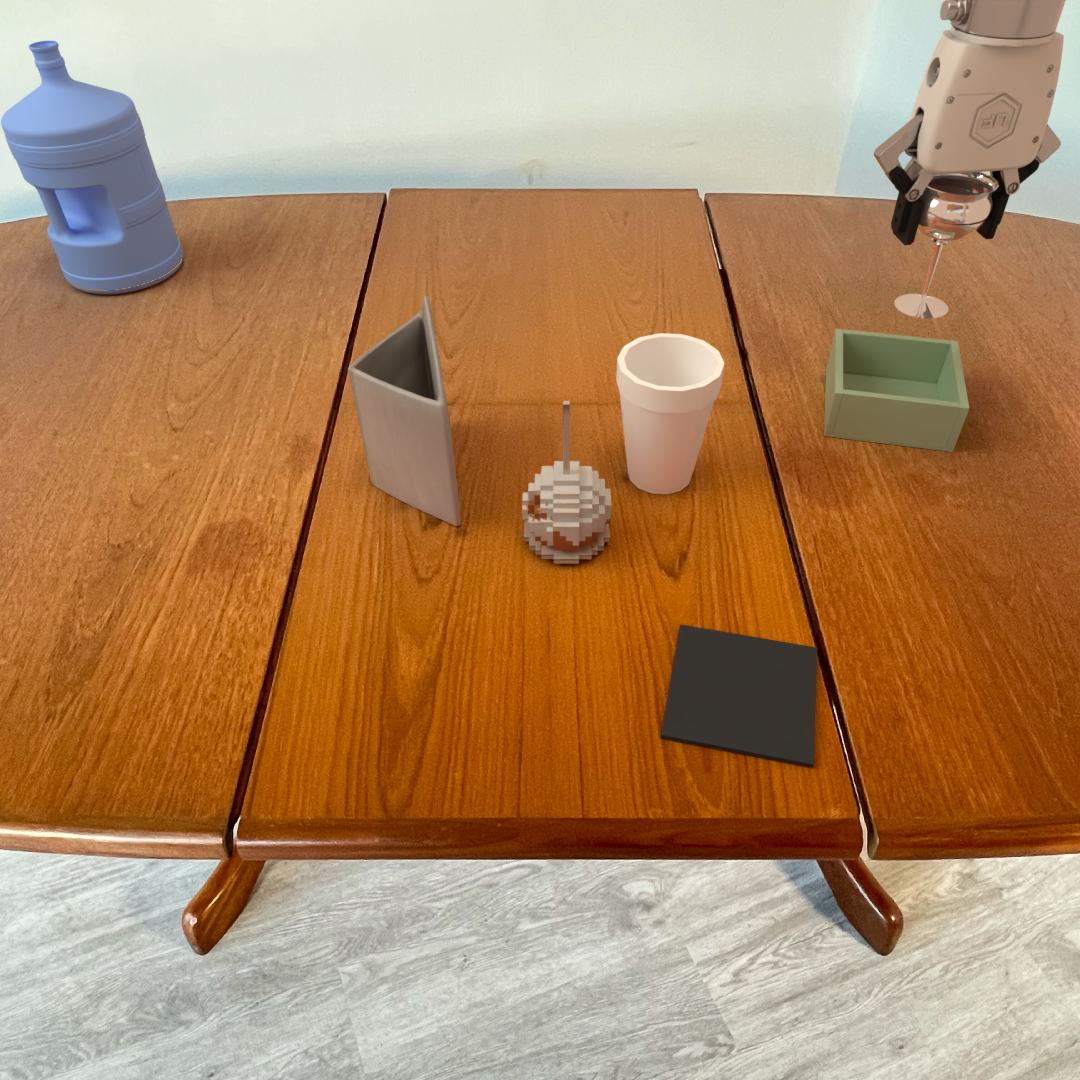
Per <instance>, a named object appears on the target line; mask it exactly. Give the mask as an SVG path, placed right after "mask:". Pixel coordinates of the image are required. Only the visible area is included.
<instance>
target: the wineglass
mask: <svg viewBox="0 0 1080 1080" xmlns="http://www.w3.org/2000/svg"><path fill="white" fill-rule="evenodd" d="M998 186H999V185H998V181H997V180H995V179H994V178H993V177H992V176H990V174H988V173H985V172H973V173H957V174H936V175H935V176H934V178H933V179H932V180H931V182H930V183H929V185H928V186H927V187H926V189H925V190H924V191H923V193H922V194H921V196H920V199H921V200H922V201H923V202H924V207H923V210H922V214H921V218H920V221H919V225H918V228H917V229H918V230H919V231H920V232H921V234H923V235H925V236H926V237H928V238H930V240H931V242H932V243H933V248H932V252H931V257H930V261H929V265H928V269H927V273H926V279H925V280H924V281H925V282H924V285H923V290H922V293H907V294H901V295H899V296H898V297H896V299H895V300H894V301H893V302H894V307H895V308H896V309H897V310H898V311H899V312H900V313H902V314H904V315H907V316H909V317H913V318H917V319H925V320H926V319H928V320H929V319H937V318H941V317H943V316H945V315H946V314H947V313H948V312H949V306H948V305H947V304H946V302H945V301H943V300H942V299H940V298H937V297H935V296H932V295H929V294H928V293H929V289H930V287H931V283H932V280H933V277H934V274H935V271H936V269H937V266H938V263H939V261H940V260H939V259H940V258H941V254H942V251H943V248H944V246H947V245H948V244H949V243H951V241H957V240H962V239H964V238H966V237H968V236H969V235H971V234H973V233H974V232H977V231H976V230H978V229H979V228H980V227H981V226H982V225H983V223H984V222H985V221H986V219H987V218H988V216H989V215H990V212H991V210H992V204H993V201H992V197H991V194H992V193H993V192H994V191H995V190H996V189H997V188H998Z"/></svg>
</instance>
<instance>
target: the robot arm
mask: <svg viewBox="0 0 1080 1080" xmlns="http://www.w3.org/2000/svg"><path fill="white" fill-rule="evenodd" d="M1066 1H1067V0H943V2H942V4H941V6H940V11H939V18H940V20H941V21H949V22H950V23H949V24H950V25H951V27H950V29H946V30H945V29H944V30H943V31H942V34H941V36H940V37H939V40H938V42H937V44H936V46H935V48H934V50H933V53H932V55H931V57H930V60H929V62H928V65H927V67H926V69H925V71H924V75H923V78H922V81H921V83H920V86H919V88H918V91H917V95H916V97H915V98H916V99H915V102H914V104H913V106H912V111H911V114H910V118H909V121H908V122H906V123H905V124H904V125H903V126H902V127H900V128H899V129H898V130H897V131H895V132H894V133H893V134H891V136H889V137H888V139H886V140H885V141H884V142H882V143H881V144H880V145H879V146H877V147H876V148H875V150H874V151H873V156H874V159H875V160H876V161H877V163H878V164H879V166H880V167H881V169H882V171H883V172H884V175H885V176H886V177H887V179H888V180H889V181H890V183H891V184H892V185H893V186H894V188H895V189H896V190H897V192H898V193H897V198H896V202H895V205H894V210H893V213H892V217H891V221H890V228H891V231H892V234H893V235H894V236H895V238H897V239H898V240H899V241H900V243H901V244H903V246H911V245H912V244H914V242H915V239H916V236H917V231H918V229H919V228H918V225H919V221H920V218H921V214H922V210H923V207H924V202H923V201H922V200H921V199H920V196H921V194H922V193H923V191H924V190H925V189H926V187H927V186H928V185H929V183H930V182H931V180H932V179H933V178H934V176H935V175H936V174H957V173H973V172H983V173H985V172H989V175H990V176H992V177H993V178H994V179H995V180H997V181H998V185H999V186H998V188H997V189H996V190H995V191H994V192H993V193H992V194H991V197H992V201H993V204H992V210H991V212H990V215H989V216H988V218H987V219H986V221H985V222H984V223H983V225H982V226H981V227H980V228H979V229H978V230H976V231H975V232H976V233H978V234H979V235H980V236H981V237H982V238H983V239H985V240H993V239H994V238H995V235H996V232H997V229H998V226H999V225H1000V224H1001V222H1002V220H1003V216H1004V215H1005V211H1006V207H1007V204H1008V201H1009V199H1010V196H1012V195H1014V194H1016V193H1017V192H1018V191H1019V190H1020V187H1021V184H1022V183H1023V182H1024V181H1026V180H1027V179H1028V178H1029V177H1030V176H1032V175H1033V174H1034V173H1035V172H1037V171H1038V169H1039V167H1040V165H1041V164H1043V163H1044V162H1046V161H1047V160H1048V159H1049V158H1050V157H1051V156H1052V155H1053V154H1055V153H1056V152H1057V151H1058V150H1059V148H1060V147H1061V145H1062V142H1061V140H1060V139H1059V137H1058V136H1057V134H1056V133H1055V132H1054V130H1053V129H1052V128H1051V127H1050V125H1049V124H1048V122H1049V120H1050V116H1051V111H1052V107H1053V103H1054V99H1055V95H1056V92H1057V87H1058V82H1059V77H1060V71H1061V66H1062V59H1063V49H1064V41H1065V36H1064V34H1063V33H1061V32H1058V31H1056V30H1057V28H1058V26H1059V22H1060V19H1061V17H1062V16H1061V15H1062V13H1063V10H1064V6H1065V4H1066ZM902 153H905V154H906V155H907V156H908V157H911V159H910V160H909V161H908V162H907V164H906V166H905V167H904V168H903V166H902V165H901V163H900V161H899V157H900V156H901V155H902Z"/></svg>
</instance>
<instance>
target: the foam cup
mask: <svg viewBox="0 0 1080 1080" xmlns="http://www.w3.org/2000/svg"><path fill="white" fill-rule="evenodd" d="M616 359H617V360H616V375H615V377H616V378H615V382H616V385H617V388H618V391H619V392H618V393H619V398H620V399H619V401H620V410H621V420H622V431H623V441H624V451H625V461H626V468H627V475H628V478H629V482H631V483H632V484H633V485H634V486H635V487H636V488H637V489H639V490H642V491H643V492H647V493H649V494H654V495H655V494H656V495H671V494H675V493H678V492H681V491H682V490H683V489H685V488H686V487H688V486H689V485H690V483H691V480H692V476H693V474H694V470H695V468H696V464H697V461H698V458H699V454H700V451H701V447H702V445H703V441H704V438H705V435H706V431H707V427H708V424H709V420H710V417H711V414H712V411H713V407H714V404H715V401H716V400H717V399H718V397H719V393H720V390H721V388H722V385H723V379H724V370H725V364H726V363H725V361H724V359H723V357H722V355H721V352H720V351H719V349H717V348H715V347H714V346H713V345H711V344H710V343H708V342H707V341H705V340H703V339H701V338H698V337H695V336H694V337H693V336H691V335H686V334H684V333H666V332H665V333H664V332H663V333H662V332H659V333H654V334H649V335H644V336H639V337H637V338H635V339H633V340H632V341H630V342H628V343H627V344H625V345H623V347H622V348H621V351H620V353H619V354H618V356H617V357H616Z"/></svg>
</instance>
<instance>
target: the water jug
mask: <svg viewBox="0 0 1080 1080" xmlns="http://www.w3.org/2000/svg"><path fill="white" fill-rule="evenodd" d="M28 50H29V51H30V52H31V54H32V55H33V58H34V65H35V67H36V69H37V70H38V73H39V76H40V79H41V83H40V85H39V86H38V87H36V88H35V89H34V90H33V91H31V92H30V93H28V94H27V95H26V96H24V97H23V98H21V99H20V100H19V101H18V102H16V103H15V104H13V106H11V107H10V108H9V109H7V110H6V111H5V112H4V113H3V114H2V116H1V119H0V125H1V129H2V131H3V133H4V138H5V140H6V143H7V146H8V148H9V151H10V153H11V154H12V157H13V159H14V160H15V161H16V164H17V166H18V168H19V171H20V173H21V175H22V177H23V180H24V181H25V182H26V183H28V184H29V185H31V186H32V187H34V188H35V189H36V191H37V193H38V195H39V198H40V200H41V202H42V205H43V207H44V210H45V212H46V214H47V217H48V219H49V221H50V223H49V225H48V226H47V236H48V238H49V241H50V243H51V246H52V248H53V250H54V253H55V254H56V257H57V260H58V262H59V268H60V270H61V272H62V275H63V277H64V278H66V279H67V280H68V281H69V282H70V283H72V284H74V285H76V286H79V287H82V288H87V289H99V290H108V291H96V290H87V289H82V288H78V287H76V286H73V285H72V284H70V283H69V282H68V281H67V280H66V279H65V280H66V281H67V283H68V284H69V285H70V286H72V287H73V288H75V289H76V290H79V291H82V292H84V293H89V294H95V295H119V294H126V293H132V292H136V291H140V290H144V289H146V288H149V287H152V286H155V285H158V284H159V283H161V282H163V281H165V280H166V279H168V278H170V277H171V276H173V274H175V273H176V272H177V271H178V270H179V268H180V267H181V266H182V264H183V261H184V250H183V247H182V244H181V241H180V238H179V237H178V235H177V232H176V228H175V226H174V223H173V219H172V216H171V213H170V210H169V207H168V204H167V201H166V200H167V199H166V194H165V191H164V188H163V183H162V182H161V179H160V178H159V176H158V173H157V170H156V166H155V164H154V160H153V157H152V155H151V151H150V148H149V145H148V142H147V139H146V133H145V129H144V125H143V123H142V119H141V117H140V114H139V113H138V110H137V108H136V105H135V103H134V101H133V99H132V98H131V97H130V96H128V94H127V95H126V94H125V93H123V92H120V91H116V90H113V89H109V88H105V87H101V86H98V85H94V84H90V83H87V82H83V81H79V80H75V79H73V78H72V77H71V76H70V74H69V73H68V70H67V67H66V62H65V59H64V57H63V56H62V55H61V52H60V49H59V42H58V41H56V40H40V41H36V42H32V43H30V44H29V45H28ZM182 257H183V259H182ZM181 259H182V261H181ZM180 261H181V263H180ZM179 263H180V264H179ZM178 264H179V265H178ZM177 265H178V266H177ZM176 266H177V267H176ZM175 267H176V268H175ZM174 268H175V269H174ZM172 269H174V270H172ZM171 270H172V271H171ZM170 271H171V272H170ZM168 272H170V273H168ZM167 273H168V274H167ZM165 274H166V275H165ZM163 275H165V276H163ZM162 276H163V277H162ZM159 277H161V278H159ZM158 278H159V279H158ZM155 279H156V280H155ZM152 280H154V281H152ZM150 281H152V282H150ZM147 282H149V283H147ZM143 283H146V284H143ZM141 284H143V285H141ZM137 285H139V286H137ZM134 286H135V287H134ZM128 287H131V288H128ZM122 288H126V289H122ZM115 289H119V290H115Z"/></svg>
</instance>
